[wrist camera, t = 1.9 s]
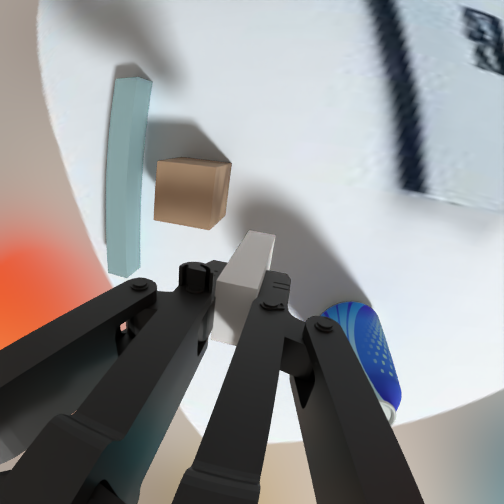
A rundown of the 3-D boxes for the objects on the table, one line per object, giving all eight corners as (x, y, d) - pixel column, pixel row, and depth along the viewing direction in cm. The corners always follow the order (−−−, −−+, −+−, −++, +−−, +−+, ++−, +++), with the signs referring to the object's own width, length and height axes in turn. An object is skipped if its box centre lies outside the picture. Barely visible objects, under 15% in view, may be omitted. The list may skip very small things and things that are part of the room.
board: (131, 82, 30) (115, 78, 26) (152, 81, 29) (137, 77, 26) (122, 262, 39) (108, 272, 35) (140, 267, 38) (127, 278, 35)
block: (181, 157, 32) (157, 160, 27) (232, 163, 32) (216, 167, 26) (177, 207, 34) (153, 220, 29) (225, 215, 34) (209, 230, 28)
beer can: (304, 309, 36) (298, 409, 21) (368, 286, 34) (399, 379, 19) (326, 357, 38) (327, 455, 23) (384, 337, 36) (410, 432, 21)
